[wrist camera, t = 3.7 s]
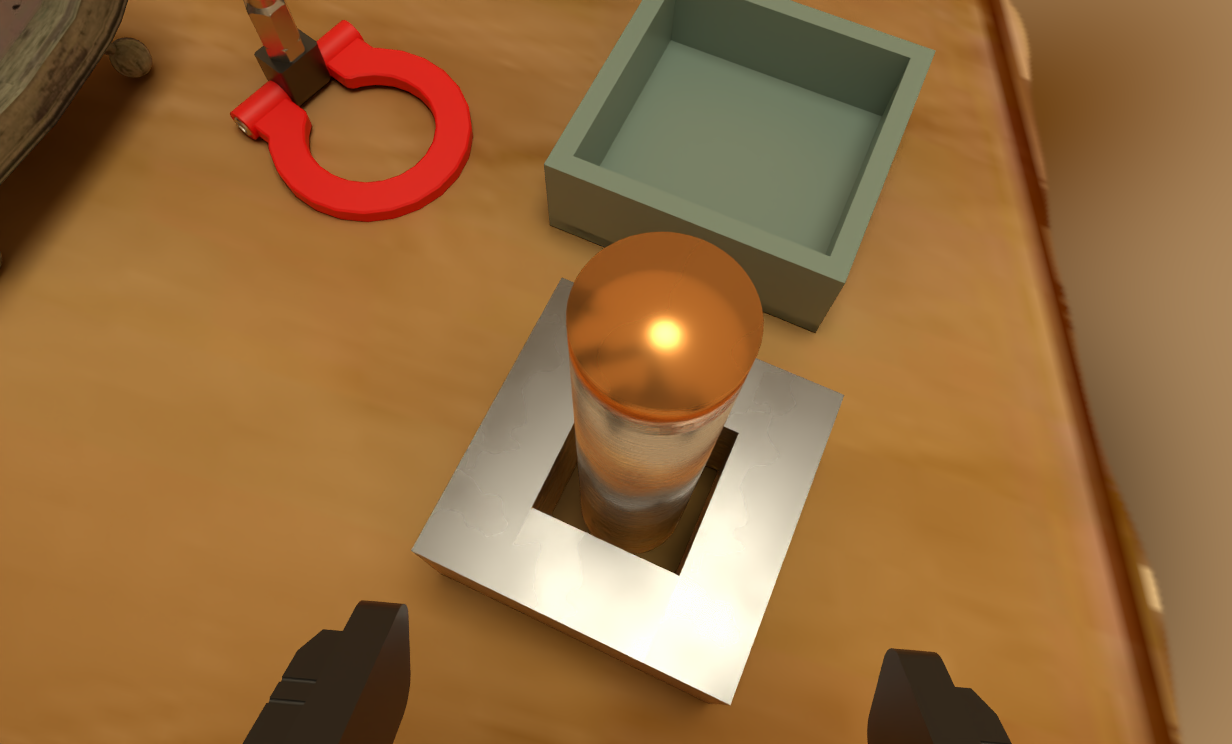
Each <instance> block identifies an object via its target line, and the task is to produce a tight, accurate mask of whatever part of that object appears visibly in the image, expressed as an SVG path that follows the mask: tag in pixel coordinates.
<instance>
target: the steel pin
mask: <svg viewBox="0 0 1232 744" xmlns="http://www.w3.org/2000/svg"><path fill="white" fill-rule="evenodd" d="M763 322H764V320H763V311H762V306H761V302H760V298H759V295H758V293H757V291H756V288H755V286H754V284H753V283H752V281H751V279H750V277H749V276H748V275H747V273H746V272H745V271H744V269H743V268H742V267H741V266H740V265H739V264H738V263H737V262H736V261H735V260H734V259H733V258H732V257H731V256H729V255H728V254H727V253H726V252H724V251H723V250H721V249H720V248H718V247H716V246H715V245H713V244H711V243H709V242H707V241H705V240H702V239H700V238H697V237H694V236H691V235H686V234H681V233H675V232H648V233H641V234H637V235H633V236H629V237H626V238H624V239H621V240H618V241H617V242H615V243H613V244H611V245H609V246H607V247H606V248H604V249H603V250H601V251H600V252H598V253H597V254H596V255H595V256H594V257H593V258H592V259H591V260H590V261H589V262H588V263H587V264H586V265H585V266H584V268H583V269H582V270H581V272H580V273H579V275H578V276H577V278H576V280H575V282H574V284H573V286H572V288H571V291H570V295H569V298H568V302H567V309H566V328H567V340H568V352H569V364H570V376H571V388H572V400H573V412H574V425H575V437H576V449H577V461H578V473H579V485H580V497H581V508H582V515H583V518H584V521H585V523H586V526H587V527H588V529H589V531H590V532H591V534H592V535H593V536H594V537H596V538H599V539H601V540H603V541H605V542H607V543H609V544H611V545H614V546H616V547H618V548H620V549H622V550H624V551H627V552H629V553H631V554H637V553H643V552H647V551H650V550H652V549H654V548H656V547H658V546H659V545H661V544H662V543H664V542H665V541H666V540H667V539H668V538H669V537H670V536H671V534H672V533H673V532H674V530H675V528H676V526H677V524H678V522H679V520H680V518H681V516H682V514H683V512H684V509H685V507H686V505H687V503H688V501H689V499H690V497H691V495H692V492H693V490H694V488H695V486H696V484H697V482H698V480H699V478H700V475H701V473H702V471H703V469H704V467H705V465H706V463H707V461H708V458H709V456H710V454H711V452H712V450H713V448H714V446H715V444H716V441H717V439H718V437H719V435H720V433H721V431H722V429H723V427H724V424H725V422H726V420H727V418H728V416H729V414H730V412H731V410H732V407H733V405H734V403H735V401H736V399H737V397H738V395H739V393H740V390H741V388H742V386H743V384H744V382H745V380H746V378H747V376H748V373H749V371H750V369H751V367H752V365H753V363H754V361H755V359H756V356H757V354H758V351H759V348H760V345H761V341H762V336H763Z"/></svg>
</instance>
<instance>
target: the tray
mask: <svg viewBox="0 0 1232 744" xmlns="http://www.w3.org/2000/svg"><path fill="white" fill-rule="evenodd" d="M934 54H935V50H932V49H929V48H926V47H923V46H921V45H918V44H915V43H912V42H909V41H906V40H903V39H900V38H897V37H895V36H892V35H889V34H886V33H883V32H880V31H877V30H874V29H871V28H869V27H866V26H863V25H860V24H857V23H854V22H851V21H848V20H845V19H843V18H840V17H837V16H834V15H831V14H828V13H825V12H822V11H819V10H817V9H814V8H811V7H808V6H805V5H802V4H799V3H796V2H793V1H791V0H642V2H641V4H640V5H639V7H638V9H637V10H636V12H635V14H634V15H633V17H632V19H631V20H630V22H629V24H628V25H627V27H626V29H625V30H624V32H623V34H622V35H621V37H620V39H619V40H618V42H617V44H616V45H615V47H614V49H613V50H612V52H611V54H610V55H609V57H608V59H607V60H606V62H605V64H604V65H603V67H602V69H601V70H600V72H599V74H598V75H597V77H596V79H595V80H594V82H593V84H592V85H591V87H590V89H589V90H588V92H587V94H586V95H585V97H584V99H583V100H582V102H581V104H580V105H579V107H578V109H577V110H576V112H575V113H574V115H573V117H572V118H571V120H570V122H569V123H568V125H567V127H566V128H565V130H564V132H563V133H562V135H561V137H560V138H559V140H558V142H557V143H556V145H555V147H554V148H553V150H552V152H551V153H550V155H549V157H548V158H547V160H546V162H545V163H544V170H545V180H546V190H547V200H548V210H549V220H550V225H552V226H554V227H556V228H559V229H561V230H564V231H566V232H569V233H571V234H574V235H576V236H579V237H581V238H584V239H586V240H588V241H591V242H593V243H596V244H598V245H601V246H603V247H607V246H609V245H611V244H613V243H615V242H617V241H618V240H621V239H624V238H626V237H629V236H633V235H637V234H641V233H648V232H675V233H681V234H686V235H691V236H694V237H697V238H700V239H702V240H705V241H707V242H709V243H711V244H713V245H715V246H716V247H718V248H720V249H721V250H723V251H724V252H726V253H727V254H728V255H729V256H731V257H732V258H733V259H734V260H735V261H736V262H737V263H738V264H739V265H740V266H741V267H742V268H743V269H744V271H745V272H746V273H747V275H748V276H749V277H750V279H751V281H752V283H753V284H754V286H755V288H756V291H757V293H758V295H759V298H760V302H761V306H762V311H763V312H766V313H768V314H770V315H773V316H775V317H778V318H780V319H783V320H785V321H788V322H790V323H793V324H795V325H798V326H800V327H802V328H805V329H807V330H810V331H812V332H816V331H817V329H818V327H819V326H820V324H821V322H822V321H823V319H824V317H825V316H826V314H827V312H828V311H829V309H830V307H831V306H832V304H833V302H834V301H835V299H836V297H837V296H838V294H839V292H840V291H841V289H842V287H843V286H844V284H845V282H846V279H847V277H848V274H849V272H850V269H851V266H852V264H853V261H854V259H855V256H856V254H857V251H858V248H859V246H860V243H861V241H862V238H863V236H864V233H865V231H866V228H867V225H868V223H869V220H870V218H871V215H872V213H873V210H874V207H875V205H876V202H877V200H878V197H879V195H880V192H881V190H882V187H883V184H884V182H885V179H886V177H887V174H888V172H889V169H890V166H891V164H892V161H893V159H894V156H895V154H896V151H897V149H898V146H899V143H900V141H901V138H902V136H903V133H904V131H905V128H906V125H907V123H908V120H909V118H910V115H911V113H912V110H913V107H914V105H915V102H916V100H917V97H918V95H919V92H920V90H921V87H922V84H923V82H924V79H925V77H926V74H927V72H928V69H929V66H930V64H931V61H932V59H933V56H934Z"/></svg>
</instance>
